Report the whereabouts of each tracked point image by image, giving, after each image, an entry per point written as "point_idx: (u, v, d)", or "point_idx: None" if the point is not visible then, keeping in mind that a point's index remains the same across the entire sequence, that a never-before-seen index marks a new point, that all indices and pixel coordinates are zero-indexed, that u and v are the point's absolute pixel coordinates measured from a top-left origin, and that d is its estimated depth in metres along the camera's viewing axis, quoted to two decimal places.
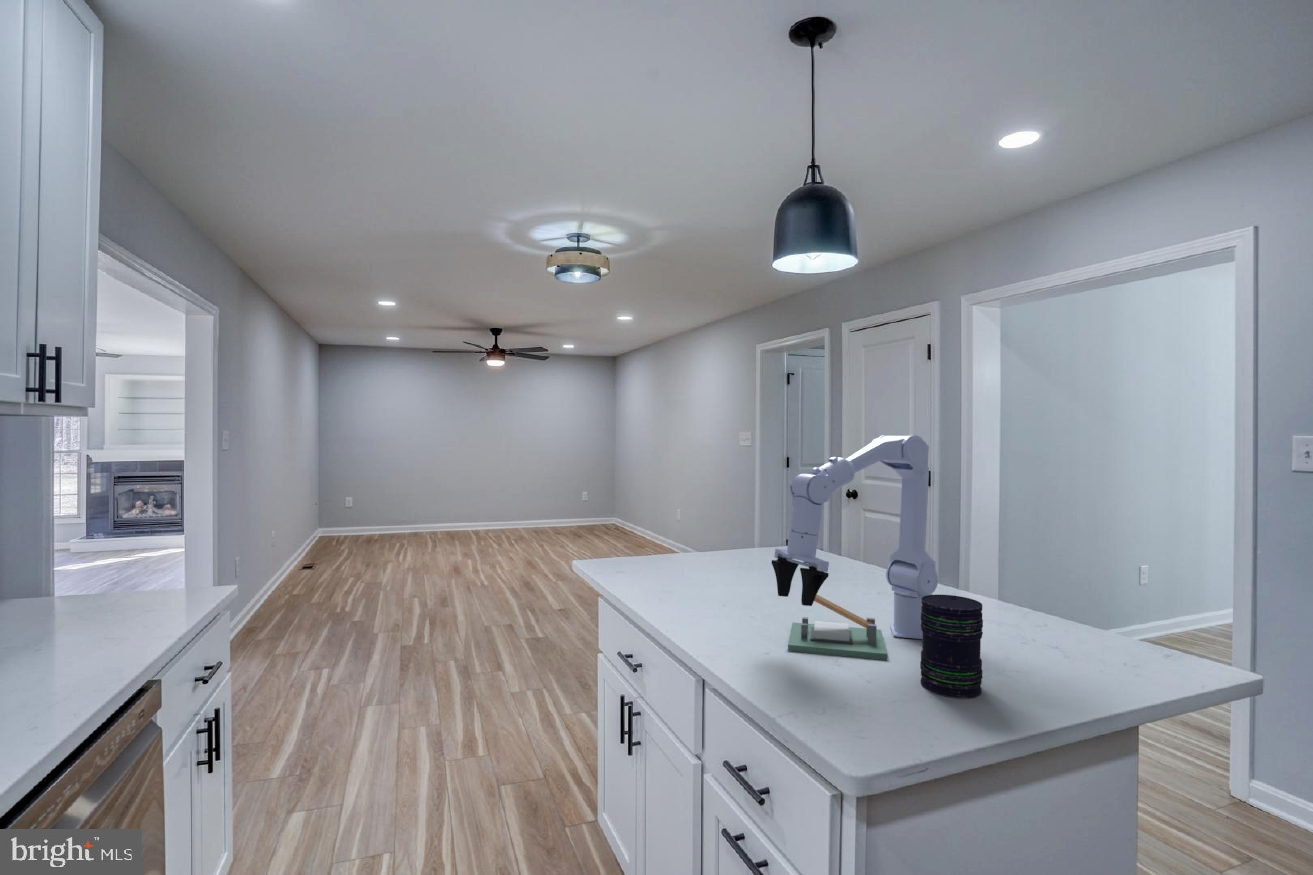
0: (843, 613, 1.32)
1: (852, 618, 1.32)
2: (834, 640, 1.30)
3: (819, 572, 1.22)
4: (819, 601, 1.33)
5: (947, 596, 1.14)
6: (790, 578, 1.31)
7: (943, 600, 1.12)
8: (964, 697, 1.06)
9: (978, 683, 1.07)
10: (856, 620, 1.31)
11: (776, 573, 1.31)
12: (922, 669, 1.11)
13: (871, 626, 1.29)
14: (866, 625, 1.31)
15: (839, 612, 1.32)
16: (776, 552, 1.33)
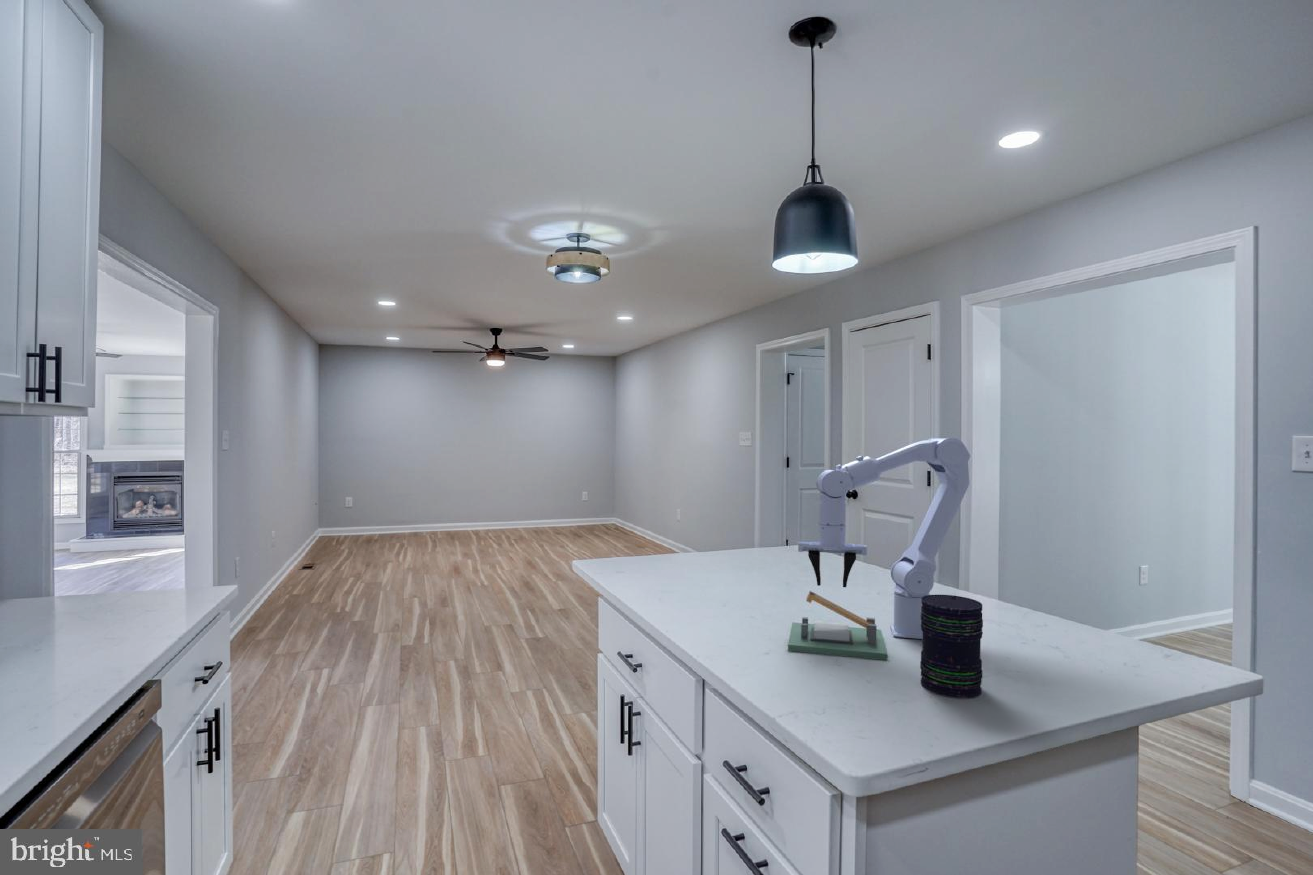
0: (843, 613, 1.32)
1: (852, 618, 1.32)
2: (834, 640, 1.30)
3: (855, 555, 1.40)
4: (819, 601, 1.33)
5: (947, 596, 1.14)
6: None
7: (943, 600, 1.12)
8: (964, 697, 1.06)
9: (978, 683, 1.07)
10: (856, 620, 1.31)
11: (815, 566, 1.40)
12: (922, 669, 1.11)
13: (871, 626, 1.29)
14: (866, 625, 1.31)
15: (839, 612, 1.32)
16: (800, 546, 1.42)
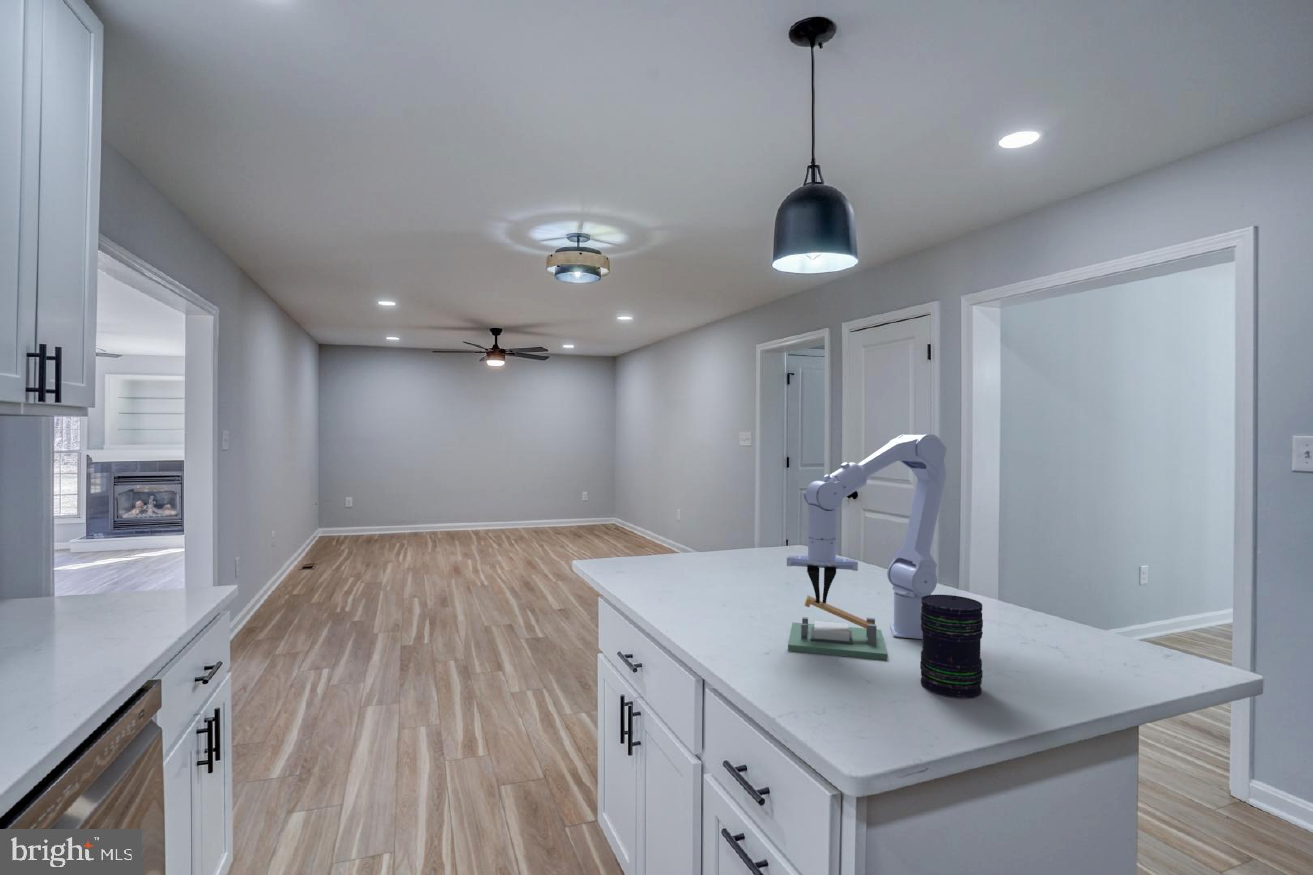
0: (842, 615, 1.32)
1: (851, 619, 1.32)
2: (834, 640, 1.30)
3: None
4: (817, 605, 1.33)
5: (947, 596, 1.14)
6: None
7: (943, 600, 1.12)
8: (964, 697, 1.06)
9: (978, 683, 1.07)
10: (855, 621, 1.31)
11: (814, 582, 1.33)
12: (922, 669, 1.11)
13: (871, 626, 1.29)
14: (866, 625, 1.31)
15: (838, 614, 1.32)
16: (789, 561, 1.35)
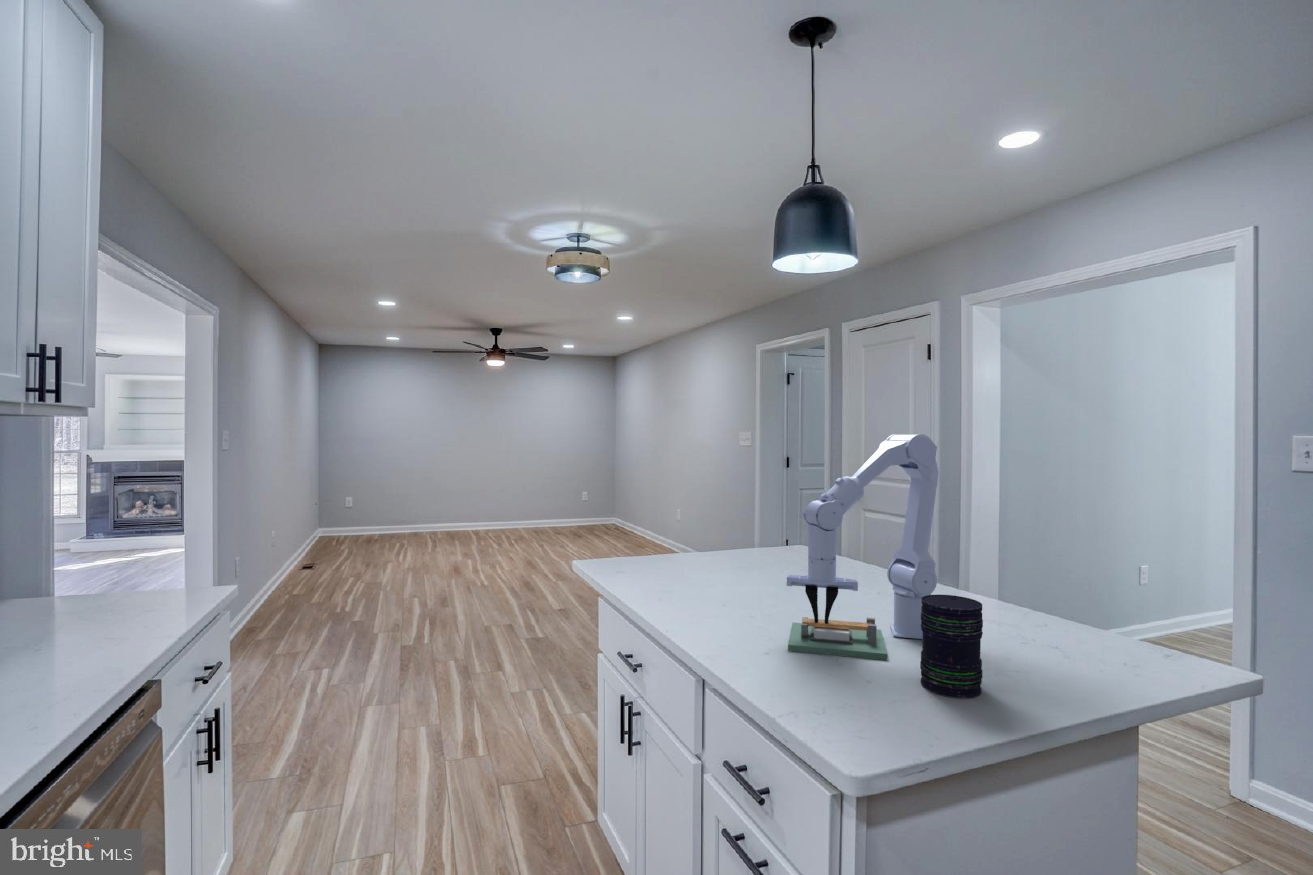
0: (840, 626, 1.32)
1: (850, 627, 1.32)
2: (834, 640, 1.30)
3: None
4: (813, 624, 1.34)
5: (947, 596, 1.14)
6: None
7: (943, 600, 1.12)
8: (964, 697, 1.06)
9: (978, 683, 1.07)
10: (854, 627, 1.31)
11: (812, 602, 1.33)
12: (922, 669, 1.11)
13: (871, 626, 1.29)
14: (865, 627, 1.31)
15: (836, 626, 1.32)
16: (789, 580, 1.35)
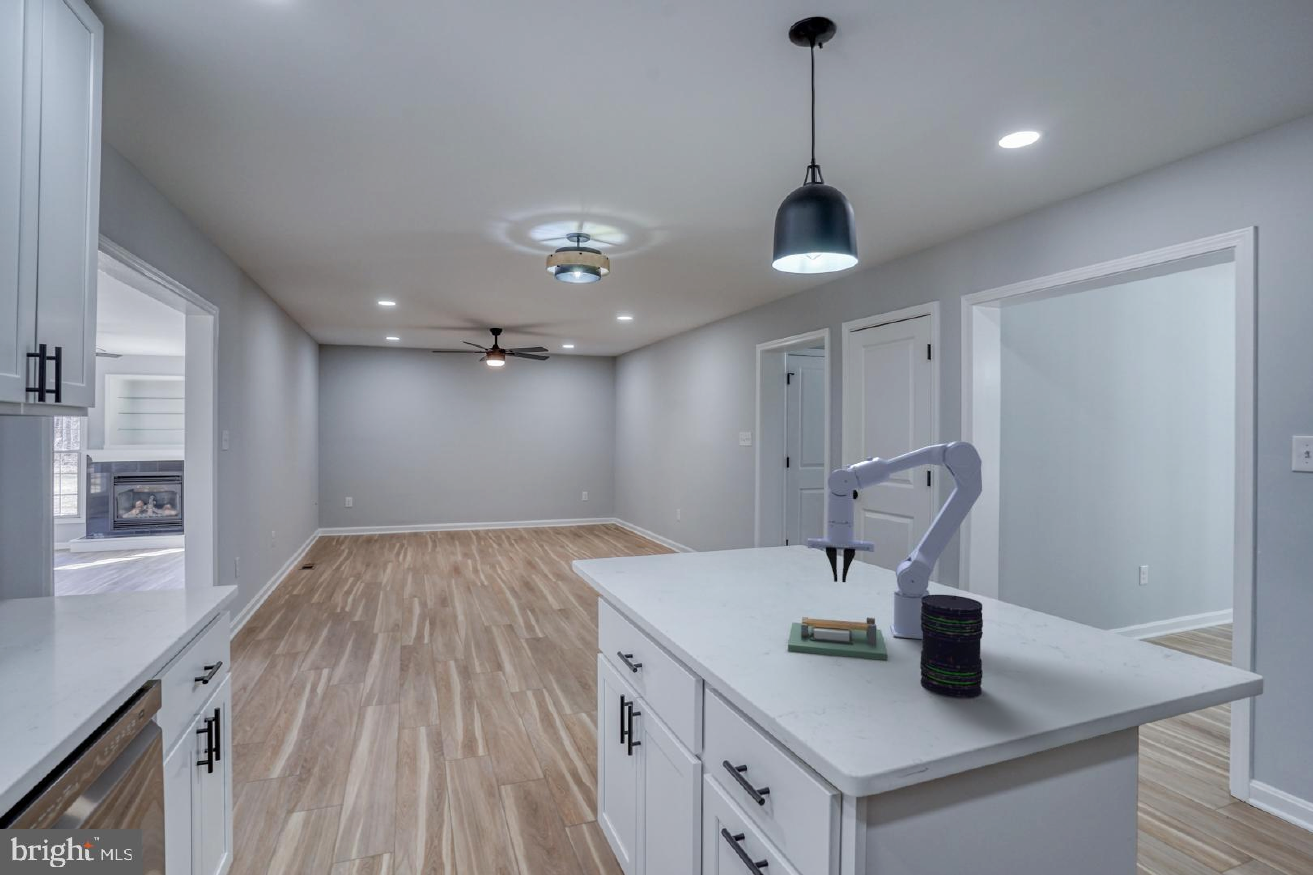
0: (840, 626, 1.32)
1: (850, 627, 1.32)
2: (834, 640, 1.30)
3: (854, 552, 1.44)
4: (813, 624, 1.34)
5: (947, 596, 1.14)
6: None
7: (943, 600, 1.12)
8: (964, 697, 1.06)
9: (978, 683, 1.07)
10: (854, 627, 1.31)
11: (832, 563, 1.44)
12: (922, 669, 1.11)
13: (871, 626, 1.29)
14: (865, 627, 1.31)
15: (836, 626, 1.32)
16: (810, 543, 1.46)
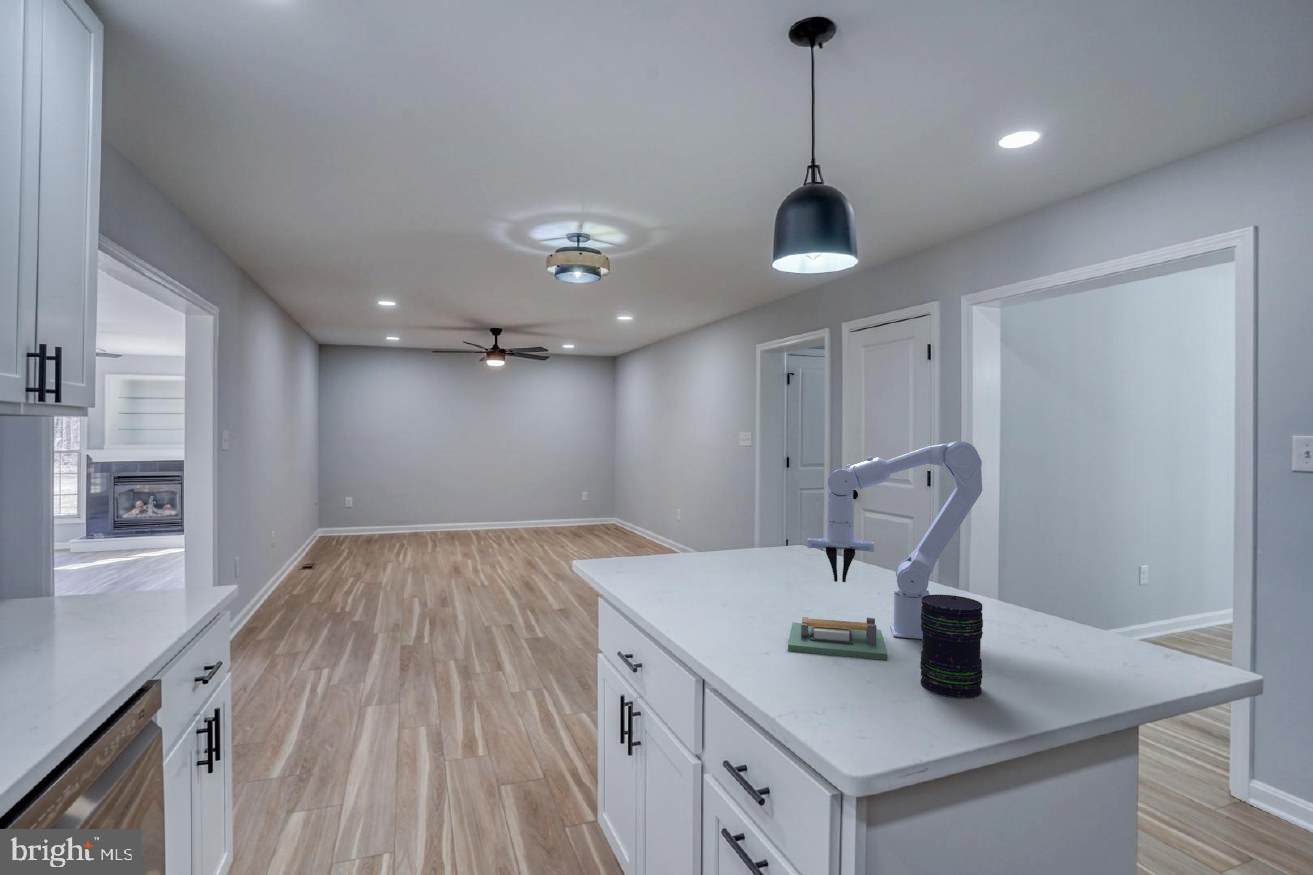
0: (840, 626, 1.32)
1: (850, 627, 1.32)
2: (834, 640, 1.30)
3: (854, 552, 1.44)
4: (813, 624, 1.34)
5: (947, 596, 1.14)
6: None
7: (943, 600, 1.12)
8: (964, 697, 1.06)
9: (978, 683, 1.07)
10: (854, 627, 1.31)
11: (832, 563, 1.44)
12: (922, 669, 1.11)
13: (871, 626, 1.29)
14: (865, 627, 1.31)
15: (836, 626, 1.32)
16: (810, 543, 1.46)
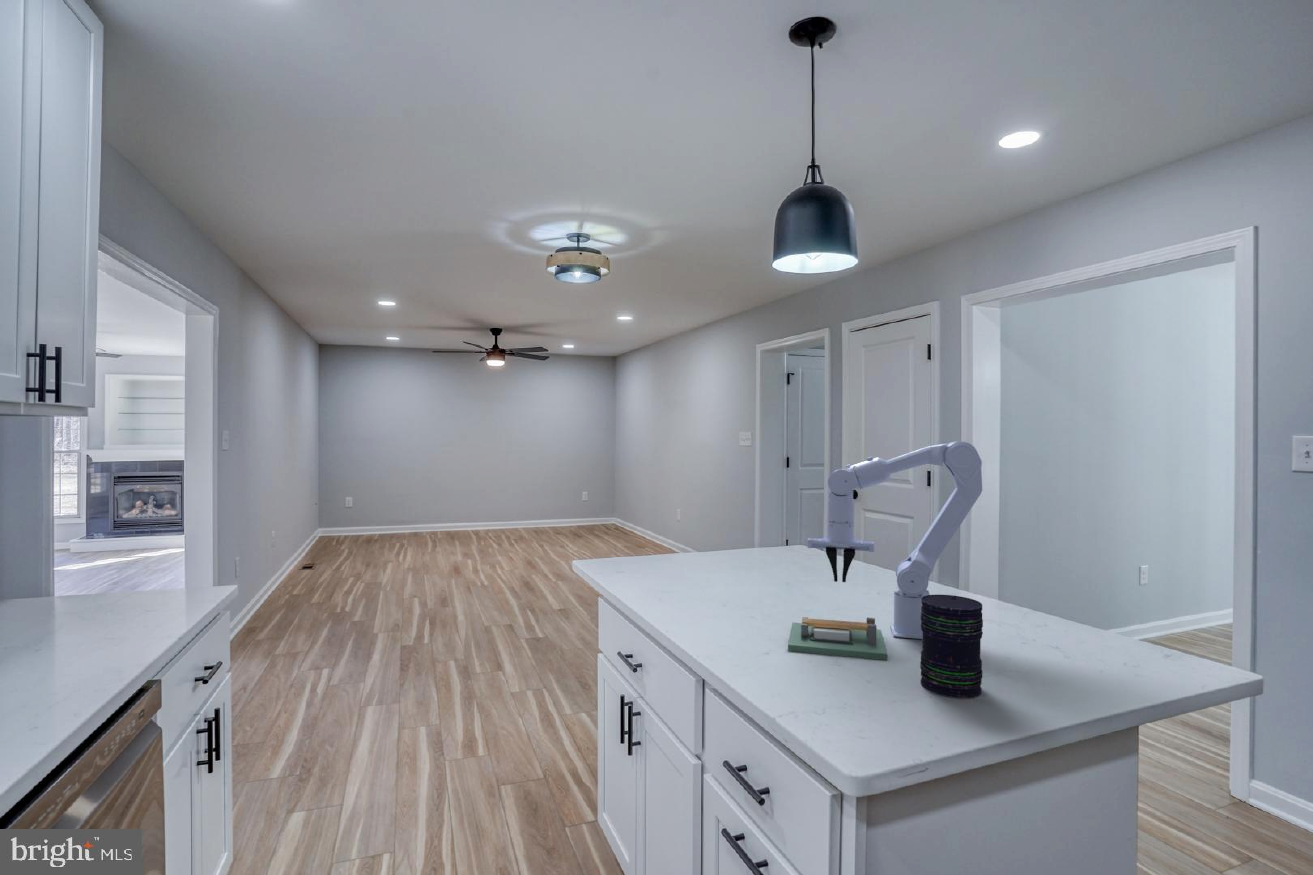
0: (840, 626, 1.32)
1: (850, 627, 1.32)
2: (834, 640, 1.30)
3: (854, 552, 1.44)
4: (813, 624, 1.34)
5: (947, 596, 1.14)
6: None
7: (943, 600, 1.12)
8: (964, 697, 1.06)
9: (978, 683, 1.07)
10: (854, 627, 1.31)
11: (832, 563, 1.44)
12: (922, 669, 1.11)
13: (871, 626, 1.29)
14: (865, 627, 1.31)
15: (836, 626, 1.32)
16: (810, 543, 1.46)
